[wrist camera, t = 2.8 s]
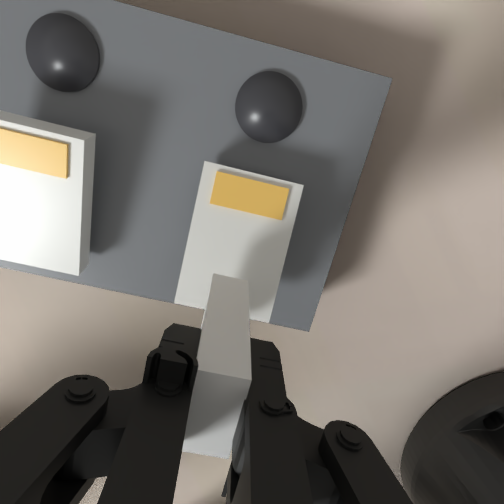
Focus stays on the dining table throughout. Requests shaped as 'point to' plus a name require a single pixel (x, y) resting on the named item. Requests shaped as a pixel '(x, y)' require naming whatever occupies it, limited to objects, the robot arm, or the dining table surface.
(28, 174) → the rocker mid
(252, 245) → the plate
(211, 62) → the grey rocker switch panel
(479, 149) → the dining table surface
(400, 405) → the dining table surface
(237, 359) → the robot arm
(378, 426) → the dining table surface
